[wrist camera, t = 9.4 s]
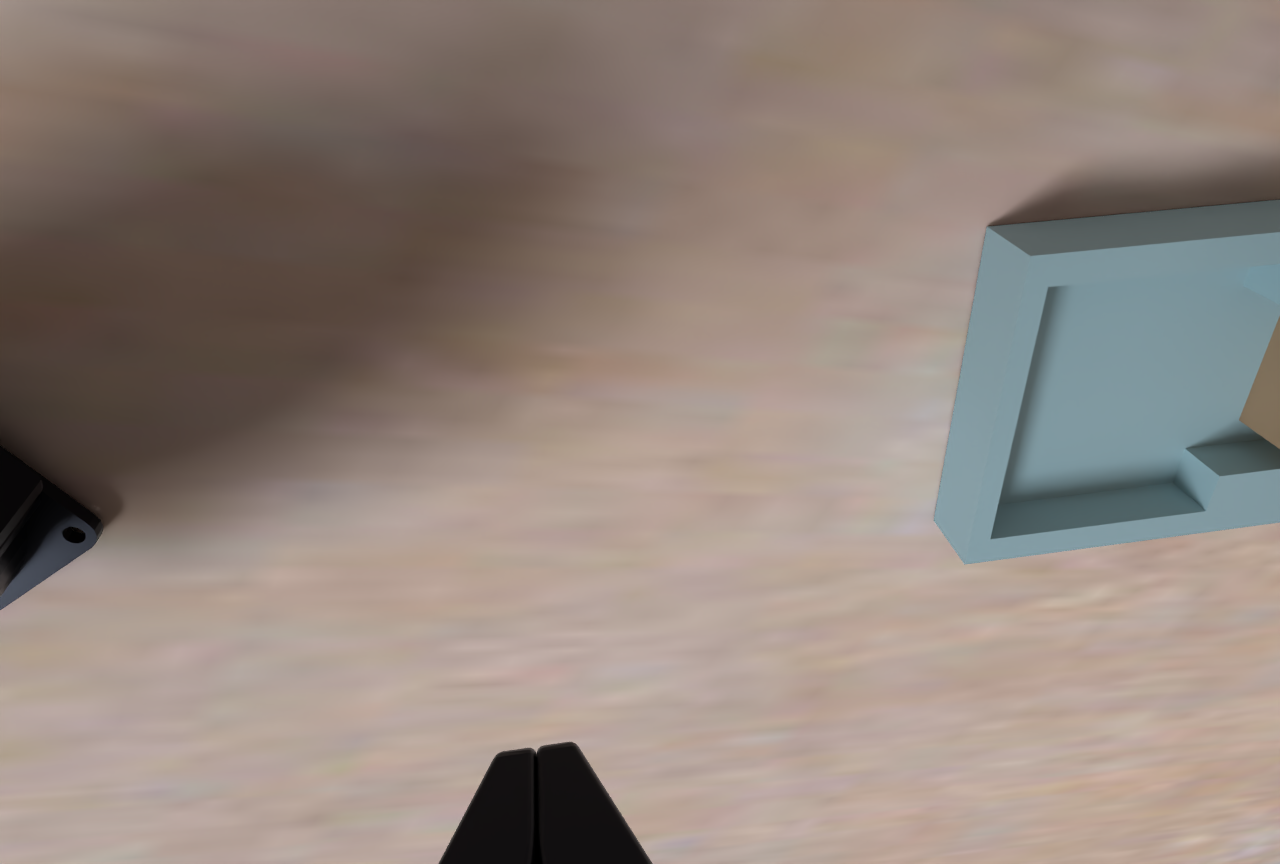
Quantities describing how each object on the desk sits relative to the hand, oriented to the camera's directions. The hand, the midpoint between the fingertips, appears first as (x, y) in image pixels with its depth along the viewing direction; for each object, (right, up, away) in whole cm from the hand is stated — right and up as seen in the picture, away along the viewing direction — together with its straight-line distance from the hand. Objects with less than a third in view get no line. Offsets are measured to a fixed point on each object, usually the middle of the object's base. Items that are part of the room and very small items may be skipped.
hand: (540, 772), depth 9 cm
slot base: (+20, +6, +15) cm, 26 cm away
